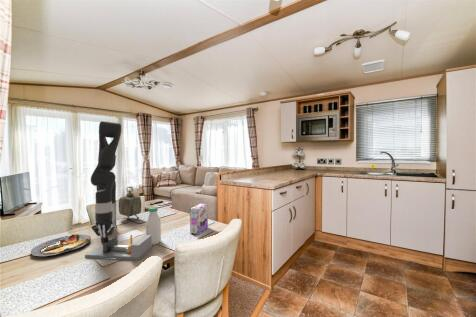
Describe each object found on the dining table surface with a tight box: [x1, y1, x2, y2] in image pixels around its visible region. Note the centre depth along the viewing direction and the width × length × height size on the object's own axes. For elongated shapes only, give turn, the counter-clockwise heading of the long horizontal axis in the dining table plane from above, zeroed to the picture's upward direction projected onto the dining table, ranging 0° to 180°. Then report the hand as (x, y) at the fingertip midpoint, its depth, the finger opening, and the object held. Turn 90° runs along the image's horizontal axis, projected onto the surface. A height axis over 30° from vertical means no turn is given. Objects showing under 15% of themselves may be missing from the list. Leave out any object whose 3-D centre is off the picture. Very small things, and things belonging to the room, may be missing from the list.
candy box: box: [189, 203, 209, 235], centre depth 138 cm, size 14×6×16 cm, turn 161°
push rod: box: [103, 235, 130, 253], centre depth 108 cm, size 12×8×5 cm, turn 84°
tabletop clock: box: [118, 186, 142, 221], centre depth 160 cm, size 14×9×25 cm, turn 66°
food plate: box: [30, 234, 92, 257], centre depth 115 cm, size 25×23×4 cm
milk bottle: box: [145, 206, 162, 246], centre depth 120 cm, size 8×8×20 cm
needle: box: [127, 234, 135, 253], centre depth 107 cm, size 1×5×8 cm, turn 174°
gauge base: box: [84, 234, 153, 262], centre depth 108 cm, size 28×12×8 cm, turn 84°
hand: (104, 243), depth 109 cm, fingers closed
